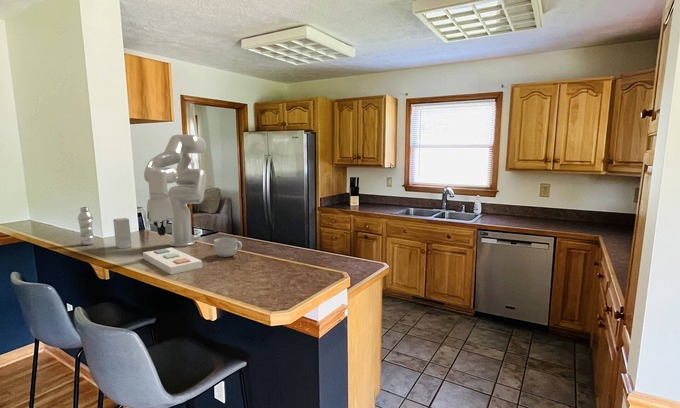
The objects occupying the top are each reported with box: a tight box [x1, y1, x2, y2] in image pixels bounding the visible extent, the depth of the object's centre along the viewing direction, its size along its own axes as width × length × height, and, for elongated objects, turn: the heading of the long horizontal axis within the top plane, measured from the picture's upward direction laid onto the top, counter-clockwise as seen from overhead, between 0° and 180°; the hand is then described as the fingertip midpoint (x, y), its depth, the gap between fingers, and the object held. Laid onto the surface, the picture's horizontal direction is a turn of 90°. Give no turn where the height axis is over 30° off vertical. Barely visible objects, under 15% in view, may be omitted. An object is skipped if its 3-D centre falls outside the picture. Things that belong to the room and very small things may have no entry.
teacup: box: [213, 237, 243, 258], centre depth 173 cm, size 14×11×8 cm
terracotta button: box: [173, 258, 190, 264], centre depth 153 cm, size 5×5×2 cm
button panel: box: [142, 247, 203, 275], centre depth 161 cm, size 13×32×3 cm, turn 46°
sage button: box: [163, 253, 179, 259], centre depth 160 cm, size 5×5×2 cm
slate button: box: [153, 248, 169, 254], centre depth 168 cm, size 5×5×2 cm
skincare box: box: [112, 217, 133, 250], centre depth 188 cm, size 8×6×15 cm
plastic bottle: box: [77, 206, 96, 246], centre depth 191 cm, size 6×7×20 cm
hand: (161, 234), depth 168 cm, fingers closed
